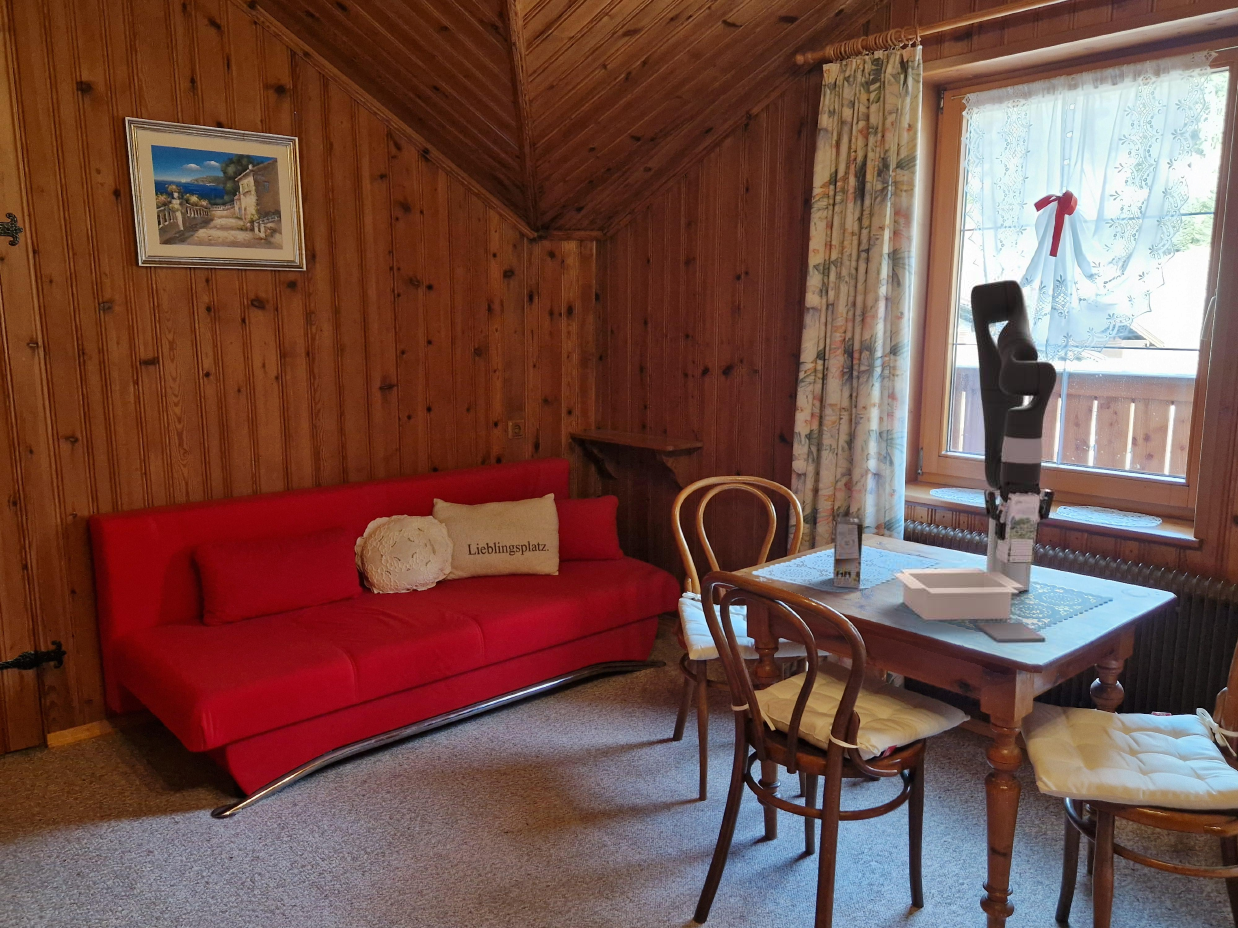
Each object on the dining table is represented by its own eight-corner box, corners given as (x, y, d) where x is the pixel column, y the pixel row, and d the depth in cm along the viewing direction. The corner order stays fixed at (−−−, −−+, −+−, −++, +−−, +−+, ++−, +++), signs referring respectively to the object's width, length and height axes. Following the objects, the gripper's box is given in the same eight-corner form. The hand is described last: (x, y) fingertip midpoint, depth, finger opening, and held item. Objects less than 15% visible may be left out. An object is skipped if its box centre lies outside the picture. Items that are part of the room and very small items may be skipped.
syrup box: (1021, 556, 193) (1026, 489, 191) (1034, 564, 187) (1040, 494, 185) (994, 556, 193) (999, 489, 191) (1007, 564, 187) (1012, 494, 185)
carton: (989, 596, 218) (991, 568, 217) (1029, 622, 199) (1032, 591, 198) (885, 598, 217) (887, 569, 215) (916, 624, 198) (917, 593, 196)
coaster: (1021, 624, 197) (1021, 622, 197) (1045, 640, 188) (1045, 637, 187) (976, 625, 197) (976, 622, 197) (997, 641, 187) (997, 638, 187)
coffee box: (860, 588, 224) (863, 524, 222) (833, 587, 226) (836, 523, 223) (858, 578, 233) (861, 516, 231) (832, 577, 235) (835, 515, 232)
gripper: (1046, 456, 191) (1040, 535, 193) (978, 456, 190) (973, 535, 193) (1065, 461, 183) (1058, 543, 186) (995, 461, 183) (989, 544, 185)
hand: (1015, 539), depth 189 cm, fingers closed on syrup box, 5 cm apart
